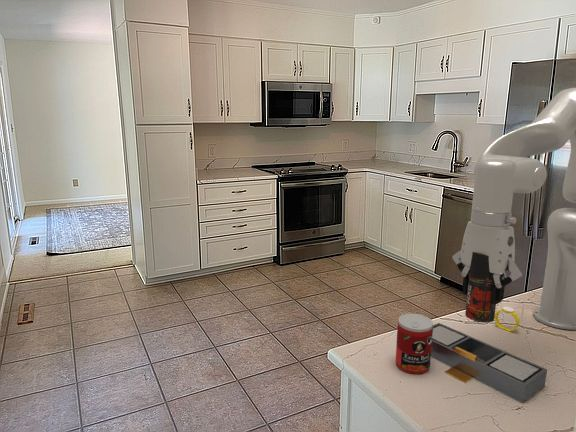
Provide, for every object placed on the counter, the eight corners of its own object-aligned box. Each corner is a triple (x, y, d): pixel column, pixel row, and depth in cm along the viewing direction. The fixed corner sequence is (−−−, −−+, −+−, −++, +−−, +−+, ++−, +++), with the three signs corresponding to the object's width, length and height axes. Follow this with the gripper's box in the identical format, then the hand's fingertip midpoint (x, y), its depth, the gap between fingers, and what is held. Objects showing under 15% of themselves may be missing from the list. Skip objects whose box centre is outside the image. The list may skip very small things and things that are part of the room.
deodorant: (459, 312, 100) (465, 249, 96) (480, 309, 102) (487, 246, 98) (478, 324, 94) (485, 257, 91) (500, 320, 96) (508, 254, 93)
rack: (437, 336, 114) (438, 319, 113) (544, 386, 93) (547, 365, 92) (406, 351, 107) (407, 333, 106) (514, 409, 86) (517, 386, 85)
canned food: (399, 375, 97) (402, 329, 95) (391, 355, 105) (394, 313, 103) (434, 375, 97) (438, 329, 95) (424, 355, 105) (427, 313, 103)
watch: (518, 332, 117) (523, 312, 115) (513, 335, 115) (518, 315, 113) (496, 322, 121) (500, 303, 120) (491, 325, 120) (495, 306, 118)
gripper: (541, 223, 88) (530, 307, 92) (463, 209, 102) (456, 282, 106) (522, 229, 84) (511, 316, 88) (444, 213, 98) (437, 289, 102)
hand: (481, 297), depth 97 cm, fingers closed on deodorant, 5 cm apart
